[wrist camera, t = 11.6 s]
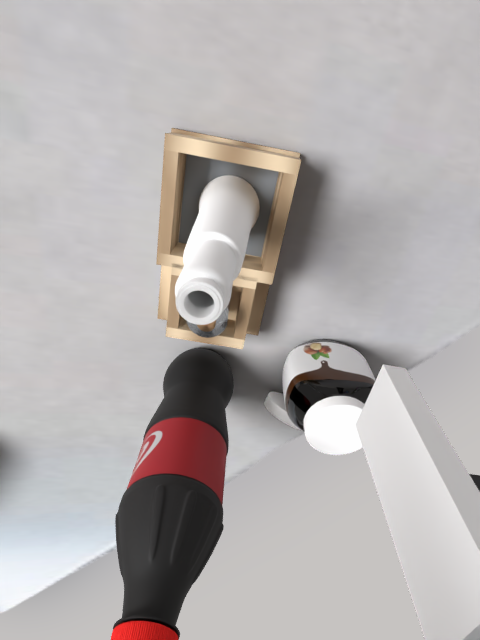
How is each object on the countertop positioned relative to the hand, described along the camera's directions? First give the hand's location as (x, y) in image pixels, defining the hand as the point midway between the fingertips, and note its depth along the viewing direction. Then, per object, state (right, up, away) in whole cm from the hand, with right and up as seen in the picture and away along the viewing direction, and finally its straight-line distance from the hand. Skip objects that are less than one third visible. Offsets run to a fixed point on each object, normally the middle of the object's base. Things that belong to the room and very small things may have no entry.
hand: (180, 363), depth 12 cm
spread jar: (+11, -5, +35) cm, 37 cm away
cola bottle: (-3, -5, +35) cm, 35 cm away
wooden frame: (0, +10, +27) cm, 28 cm away
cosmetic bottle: (+1, +13, +24) cm, 27 cm away
